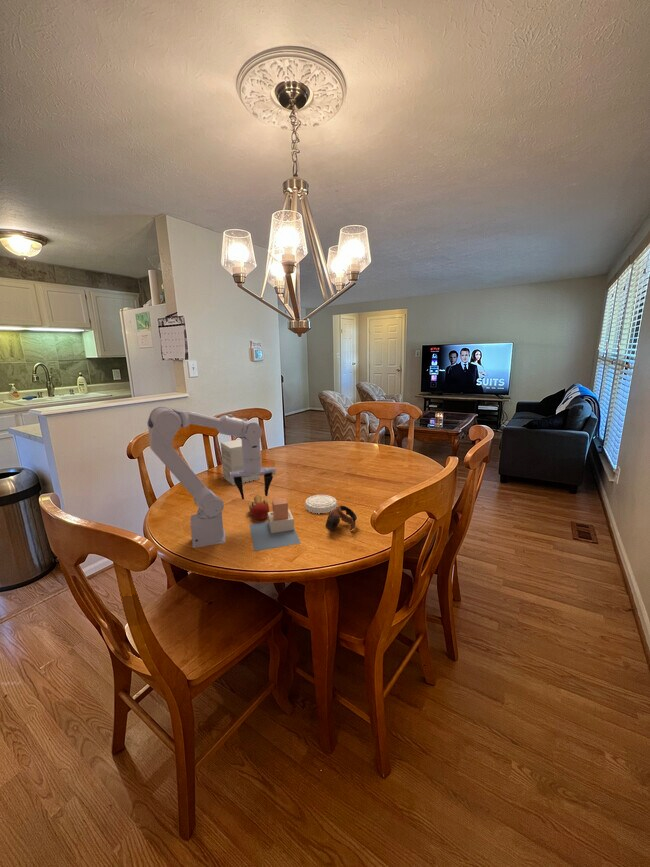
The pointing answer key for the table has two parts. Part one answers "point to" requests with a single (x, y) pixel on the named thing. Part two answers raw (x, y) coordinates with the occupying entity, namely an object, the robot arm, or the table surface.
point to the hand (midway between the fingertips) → (254, 496)
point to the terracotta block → (280, 509)
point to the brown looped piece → (337, 514)
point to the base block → (280, 523)
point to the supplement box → (233, 460)
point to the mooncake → (320, 504)
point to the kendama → (259, 508)
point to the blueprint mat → (271, 537)
